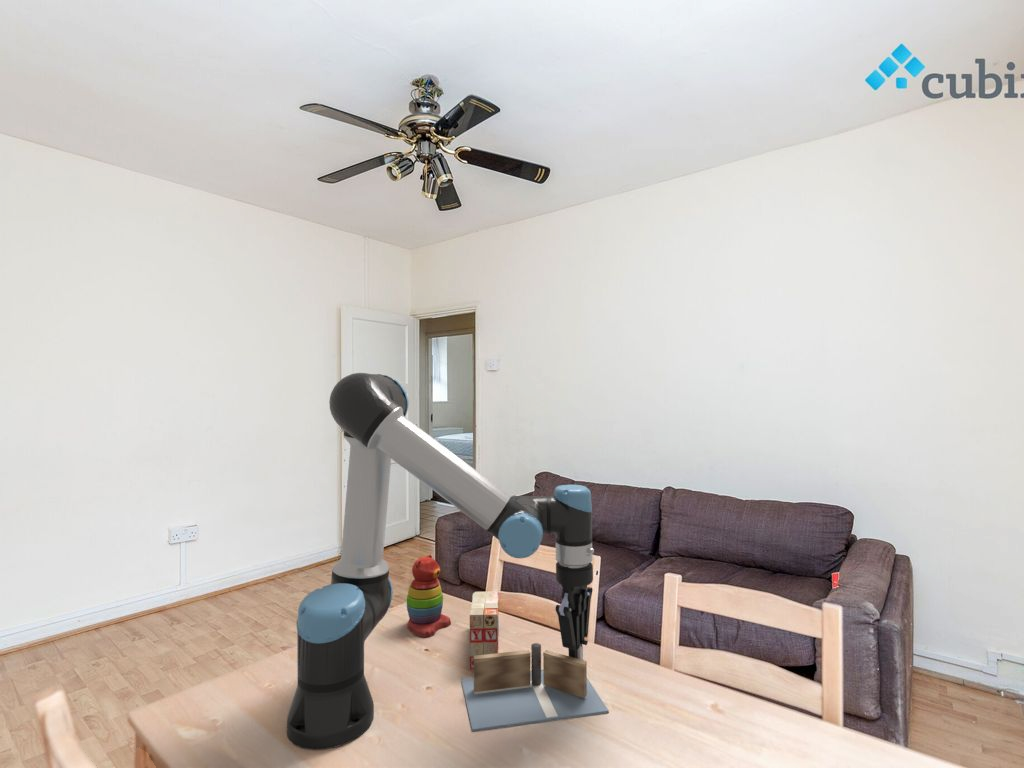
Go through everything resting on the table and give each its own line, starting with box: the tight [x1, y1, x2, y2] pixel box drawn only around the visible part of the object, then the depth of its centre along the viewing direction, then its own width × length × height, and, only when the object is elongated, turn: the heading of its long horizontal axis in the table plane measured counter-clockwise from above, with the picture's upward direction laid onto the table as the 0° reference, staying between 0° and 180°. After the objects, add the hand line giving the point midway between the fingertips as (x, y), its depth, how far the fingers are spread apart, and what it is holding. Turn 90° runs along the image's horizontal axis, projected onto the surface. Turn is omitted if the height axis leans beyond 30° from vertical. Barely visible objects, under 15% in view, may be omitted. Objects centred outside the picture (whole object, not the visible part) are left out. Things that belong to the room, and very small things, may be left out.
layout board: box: [460, 669, 610, 732], centre depth 106 cm, size 26×17×1 cm, turn 102°
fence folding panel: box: [542, 649, 588, 698], centre depth 106 cm, size 9×1×7 cm, turn 58°
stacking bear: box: [406, 554, 452, 638], centre depth 138 cm, size 11×10×18 cm
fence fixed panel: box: [473, 642, 542, 692], centre depth 108 cm, size 14×2×8 cm, turn 102°
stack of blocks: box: [469, 590, 500, 671], centre depth 127 cm, size 21×6×12 cm, turn 1°
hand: (576, 677), depth 108 cm, fingers closed
